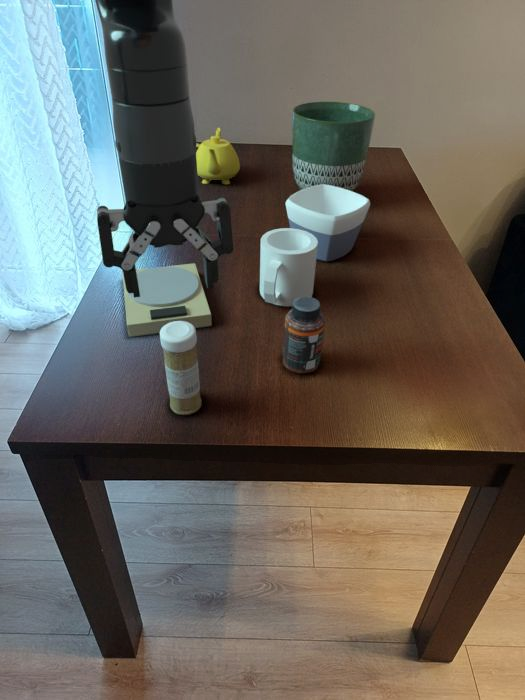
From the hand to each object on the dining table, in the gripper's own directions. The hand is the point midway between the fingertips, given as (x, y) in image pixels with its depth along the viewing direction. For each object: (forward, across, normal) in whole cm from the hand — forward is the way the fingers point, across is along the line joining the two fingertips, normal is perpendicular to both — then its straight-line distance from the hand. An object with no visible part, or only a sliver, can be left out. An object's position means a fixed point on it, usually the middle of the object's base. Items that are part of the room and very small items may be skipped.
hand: (173, 289), depth 58 cm
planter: (+20, -46, -67) cm, 84 cm away
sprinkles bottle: (+20, 0, 0) cm, 20 cm away
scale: (+20, 0, -27) cm, 33 cm away
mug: (+20, -22, -25) cm, 39 cm away
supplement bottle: (+20, -19, -5) cm, 28 cm away
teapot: (+20, -20, -87) cm, 92 cm away
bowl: (+20, -36, -41) cm, 58 cm away
